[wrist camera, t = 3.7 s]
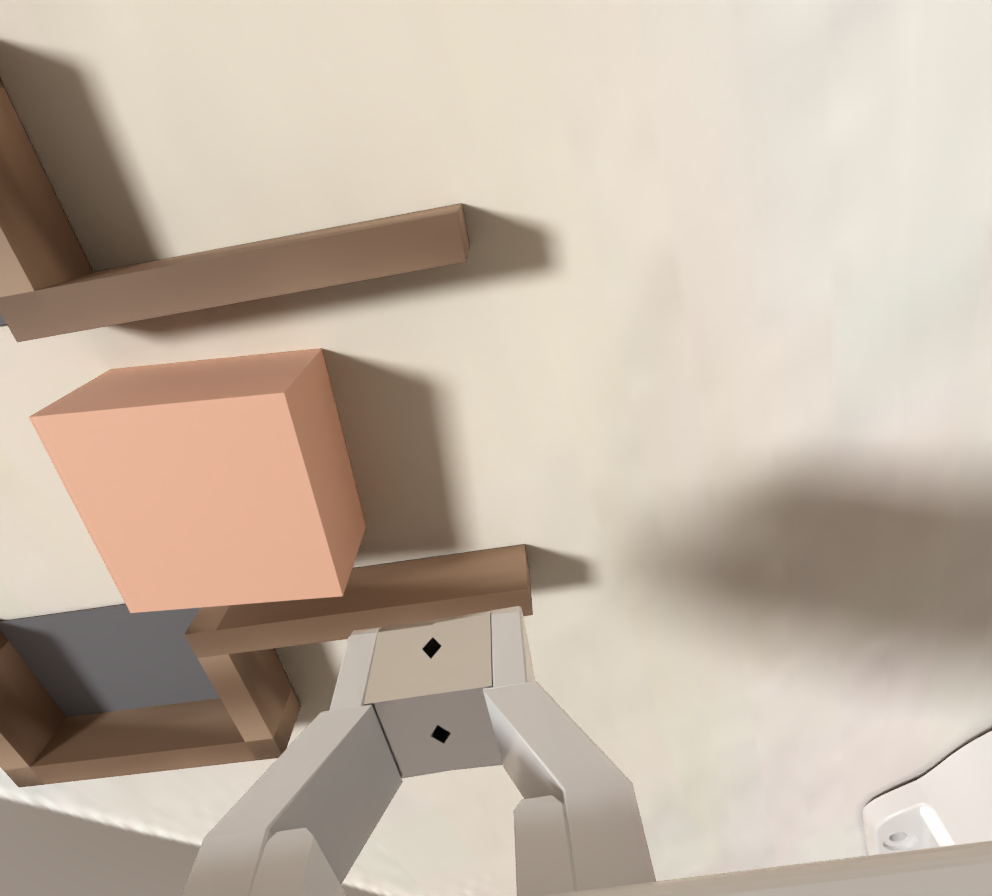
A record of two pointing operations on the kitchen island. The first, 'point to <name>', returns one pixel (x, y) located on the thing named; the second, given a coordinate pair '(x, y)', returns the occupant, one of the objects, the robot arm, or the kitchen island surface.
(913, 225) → the kitchen island surface
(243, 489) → the block
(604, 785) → the robot arm
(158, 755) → the box
